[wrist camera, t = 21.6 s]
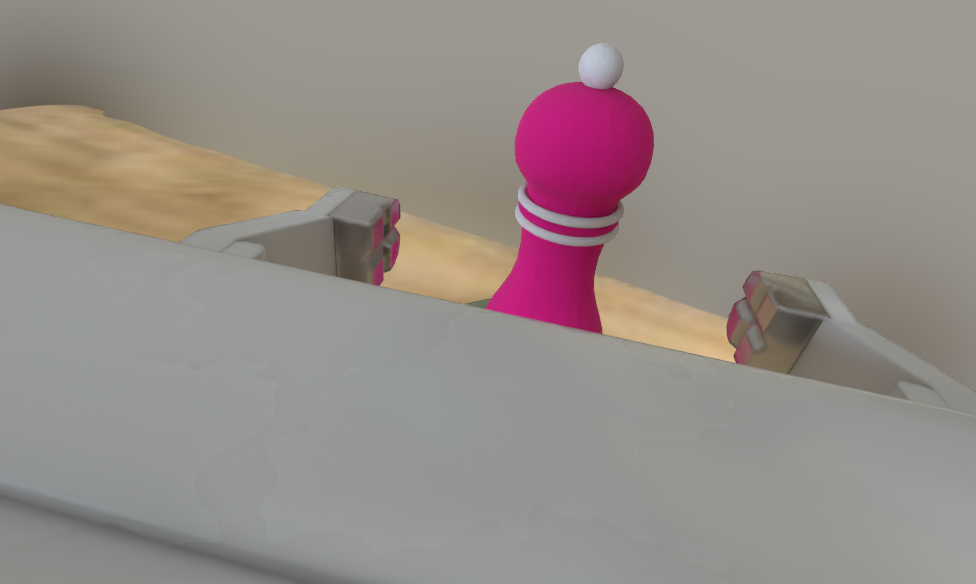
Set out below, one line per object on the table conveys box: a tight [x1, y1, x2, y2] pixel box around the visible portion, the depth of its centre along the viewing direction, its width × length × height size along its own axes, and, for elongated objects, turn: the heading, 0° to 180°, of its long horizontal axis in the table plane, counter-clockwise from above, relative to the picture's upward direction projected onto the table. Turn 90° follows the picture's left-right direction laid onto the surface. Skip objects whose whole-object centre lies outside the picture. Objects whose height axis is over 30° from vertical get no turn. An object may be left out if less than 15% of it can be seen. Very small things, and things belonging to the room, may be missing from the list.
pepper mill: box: [485, 43, 654, 334], centre depth 25 cm, size 7×7×20 cm
